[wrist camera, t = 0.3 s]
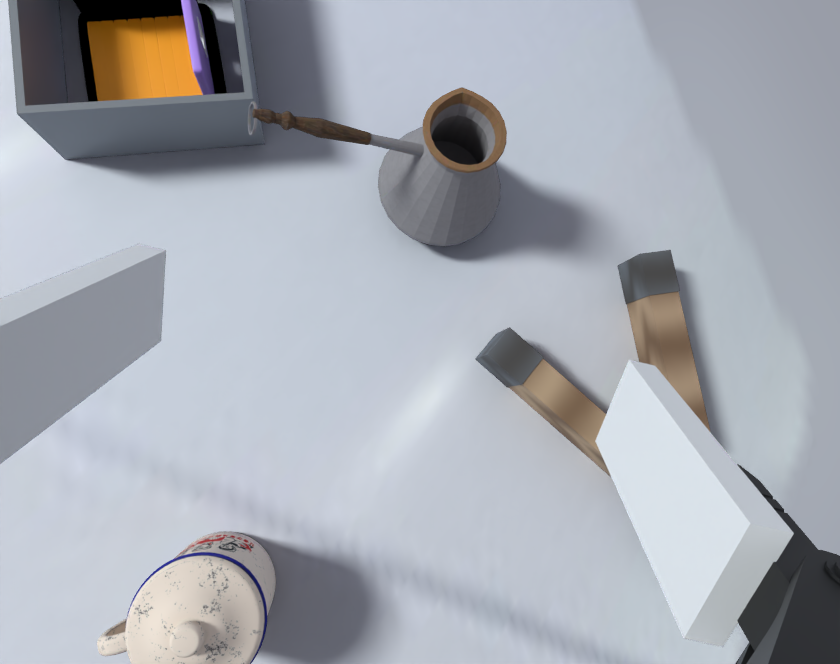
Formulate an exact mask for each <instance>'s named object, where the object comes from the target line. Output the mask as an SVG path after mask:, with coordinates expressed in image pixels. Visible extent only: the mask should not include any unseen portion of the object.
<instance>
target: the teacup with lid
mask: <svg viewBox="0 0 840 664" xmlns="http://www.w3.org/2000/svg"><path fill="white" fill-rule="evenodd" d="M275 586H276V578H275V571H274V567H273V563H272V561H271V559H270V557H269V555H268V553H267V552H266V551H265V549H264V548H263V547H262V546H261V545H260V544H259V543H258V542H256V541H255V540H254V539H252V538H250V537H248V536H246V535H243V534H240V533H236V532H217V533H212V534H209V535H206V536H203V537H201V538H199V539H197V540H196V541H194V542H193V543H191V544H190V545H189V546H188V547H186V548H185V549H184V550H183V551H182V552H181V553H180V554H179V555H177V556H176V557H175V558H174V559H173V560H171V561H169V562H167V563H165V564H164V565H162V566H161V567H159V568H158V569H157V570H156V571H154V572H153V573H152V574H151V575H150V576H149V577H148V578H147V579H146V580H145V582H144V583H143V584H142V585H141V587H140V588H139V590H138V591H137V593H136V595H135V596H134V598H133V601H132V603H131V605H130V608H129V611H128V615H127V619H125V620H123V621H121V622H119V623H118V624H116V625H114V626H113V627H111V628H110V629H108V630H107V631H106V632H104V633H103V634H102V635H101V636H100V637H99V639H98V642H97V646H98V650H99V653H100V654H101V655H104V656H111V655H116V654H120V653H123V652H126V651H127V652H128V656H129V659H130V661H131V663H132V664H251V663H252V662H253V660H254V658H255V657H256V655H257V653H258V651H259V649H260V647H261V645H262V642H263V639H264V636H265V632H266V626H267V616H268V613H269V610H270V607H271V604H272V601H273V598H274V593H275Z"/></svg>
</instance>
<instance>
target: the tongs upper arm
mask: <svg viewBox="0 0 840 664" xmlns="http://www.w3.org/2000/svg"><path fill="white" fill-rule="evenodd" d="M476 360H477V361H478V362H479V363H480V364H481V365H483V366H484V367H485V368H486V369H487V370H488V371H489V372H490V373H492V374H493V375H494V376H495V377H496V378H497V379H498V380H500V381H501V382H502V383H503V384H504V385H505V386H506V387H509V388H510V389H511V390H513V391H514V392H515V393H516V394H517V395H518V396H519V397H520V398H522V399H523V400H524V401H525V402H526V403H527V404H528V405H530V406H531V407H532V408H533V409H534V410H535V411H536V412H538V413H539V414H540V415H541V416H542V417H543V418H544V419H546V420H547V421H548V422H549V423H550V424H551V425H552V426H553V427H555V428H556V429H557V430H558V431H559V432H560V433H561V434H563V435H564V436H565V437H566V438H567V439H568V440H569V441H571V442H572V443H573V444H574V445H575V446H576V447H577V448H579V449H580V450H581V451H582V452H583V453H584V454H585V455H586V456H588V457H589V458H590V459H591V460H592V461H593V462H594V463H596V464H597V465H598V466H599V467H600V468H601V469H602V470H604V471H605V472H606V473H607V474H608V475H609V476H610V477H611V475H610V473H609V471H608V468H607V466H606V464H605V462H604V459H603V457H602V455H601V453H600V451H599V448H598V446H597V444H596V442H595V440H596V438H597V436H598V433H599V431H600V428H601V426H602V424H603V421H604V419H605V416H606V414H605V413H604V412H603V411H602V410H601V409H600V408H598V407H597V406H596V405H595V404H594V403H593V402H592V401H591V400H589V399H588V398H587V397H586V396H585V395H584V394H583V393H581V392H580V391H579V390H578V389H577V388H576V387H575V386H573V385H572V384H571V383H570V382H569V381H568V380H567V379H566V378H564V377H563V376H562V375H561V374H560V373H559V372H558V371H556V370H555V369H554V368H553V367H552V366H551V365H550V364H549V363H547V362H546V361H545V360H544V359H543V356H542V355H541V354H539V353H538V352H537V351H536V350H535V349H534V348H533V347H531V346H530V345H529V344H528V343H527V342H526V341H525V340H523V339H522V338H521V337H520V336H519V335H518V334H517V333H516V332H514V331H513V330H512V329H511V328H510V327H509V328H507V329H505V330H503V331H501V332H499V333H497V334H496V335H495V336H494V337H493V338H492V340H491V341H490V342H489V343H488V344H487V346H486V347H485V348H484V349H483V350H482V352H481V353H480V354H479V355H478V356H477V358H476Z"/></svg>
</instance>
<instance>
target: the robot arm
mask: <svg viewBox="0 0 840 664" xmlns="http://www.w3.org/2000/svg"><path fill="white" fill-rule="evenodd" d="M165 260H166V250H163V249H159V248H155V247H150V246H146V245H142V244H136V245H133V246H131V247H128V248H126V249H123V250H121V251H118V252H116V253H113V254H111V255H108V256H106V257H103V258H101V259H98V260H96V261H93V262H91V263H88V264H86V265H83V266H81V267H78V268H76V269H73V270H71V271H68V272H65V273H63V274H60V275H58V276H55V277H53V278H50V279H48V280H45V281H43V282H40V283H38V284H35V285H33V286H30V287H28V288H25V289H23V290H20V291H18V292H15V293H13V294H10V295H8V296H5V297H3V298H0V464H1V463H2V462H4V461H5V460H6V459H8V458H9V457H10V456H11V455H13V454H14V453H15V452H17V451H18V450H19V449H21V448H22V447H23V446H24V445H26V444H27V443H28V442H30V441H31V440H32V439H34V438H35V437H36V436H38V435H39V434H40V433H41V432H43V431H44V430H45V429H47V428H48V427H49V426H51V425H52V424H53V423H55V422H56V421H57V420H58V419H60V418H61V417H62V416H64V415H65V414H66V413H68V412H69V411H70V410H72V409H73V408H74V407H75V406H77V405H78V404H79V403H81V402H82V401H83V400H85V399H86V398H87V397H88V396H90V395H91V394H92V393H94V392H95V391H96V390H98V389H99V388H100V387H102V386H103V385H104V384H105V383H107V382H108V381H109V380H111V379H112V378H113V377H115V376H116V375H117V374H119V373H120V372H121V371H122V370H124V369H125V368H126V367H128V366H129V365H130V364H132V363H133V362H134V361H136V360H137V359H138V358H139V357H141V356H142V355H143V354H145V353H146V352H147V351H149V350H150V349H151V348H153V347H154V346H155V345H156V344H158V343H159V342H160V341H161V331H162V313H163V295H164V277H165ZM595 442H596V444H597V446H598V448H599V451H600V453H601V455H602V457H603V459H604V462H605V464H606V466H607V468H608V471H609V473H610V475H611V477H612V480H613V482H614V484H615V486H616V488H617V491H618V493H619V495H620V497H621V500H622V502H623V504H624V506H625V509H626V511H627V513H628V515H629V517H630V520H631V522H632V524H633V526H634V529H635V531H636V533H637V535H638V538H639V540H640V542H641V544H642V546H643V549H644V551H645V553H646V555H647V558H648V560H649V562H650V564H651V567H652V569H653V571H654V573H655V575H656V578H657V580H658V582H659V584H660V587H661V589H662V591H663V593H664V596H665V598H666V600H667V602H668V604H669V607H670V609H671V611H672V613H673V616H674V618H675V620H676V622H677V625H678V627H679V629H680V631H681V633H682V636H683V638H684V639H688V640H693V641H697V642H702V643H707V644H711V645H716V646H720V647H724V645H725V643H726V642H727V640H728V639H729V637H730V635H731V634H732V632H733V631H734V629H735V627H736V626H737V624H738V623H739V625H740V627H741V628H742V630H743V632H744V634H745V635H746V637H747V639H748V641H749V644H748V645H747V647H746V648H745V650H744V651H743V653H742V654H741V656H740V658H739V659H738V661H737V662H736V664H840V556H839V555H837V554H833V553H830V552H827V551H823V550H818V549H817V548H816V547H815V545H814V544H813V543H812V542H811V541H810V540H809V538H808V537H807V536H806V535H805V534H804V533H803V531H802V530H801V529H800V528H799V527H798V526H797V524H796V523H795V522H794V521H793V520H792V518H791V517H790V516H789V515H788V514H787V513H784V509H783V508H782V507H781V506H780V504H779V503H778V502H777V501H776V500H774V499H773V496H772V495H771V494H770V493H769V491H768V490H767V489H766V488H765V487H764V486H763V484H762V483H761V482H760V481H759V480H758V479H757V478H755V477H754V476H753V475H751V474H750V473H749V472H748V471H746V470H745V469H744V468H742V467H741V466H740V465H738V464H736V463H735V462H734V460H733V459H732V458H731V457H730V455H729V454H728V453H727V452H726V451H725V449H724V448H723V447H722V446H721V445H720V443H719V442H718V441H717V440H716V439H715V437H714V436H713V435H712V434H711V433H710V431H709V430H708V429H707V428H706V426H705V425H704V424H703V423H702V422H701V420H700V419H699V418H698V417H697V416H696V414H695V413H694V412H693V411H692V410H691V408H690V407H689V406H688V405H687V404H686V402H685V401H684V400H683V399H682V398H681V396H680V395H679V394H678V393H677V391H676V390H675V389H674V388H673V387H672V385H671V384H670V383H669V382H668V381H667V379H666V378H665V377H664V376H663V375H662V373H661V372H660V371H659V370H658V369H657V367H656V366H654V365H650V364H646V363H641V362H637V361H633V360H629V361H628V363H627V366H626V368H625V370H624V373H623V375H622V378H621V380H620V383H619V385H618V387H617V390H616V392H615V395H614V397H613V399H612V402H611V404H610V407H609V409H608V411H607V414H606V416H605V419H604V421H603V424H602V426H601V428H600V431H599V433H598V436H597V438H596V440H595Z"/></svg>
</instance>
